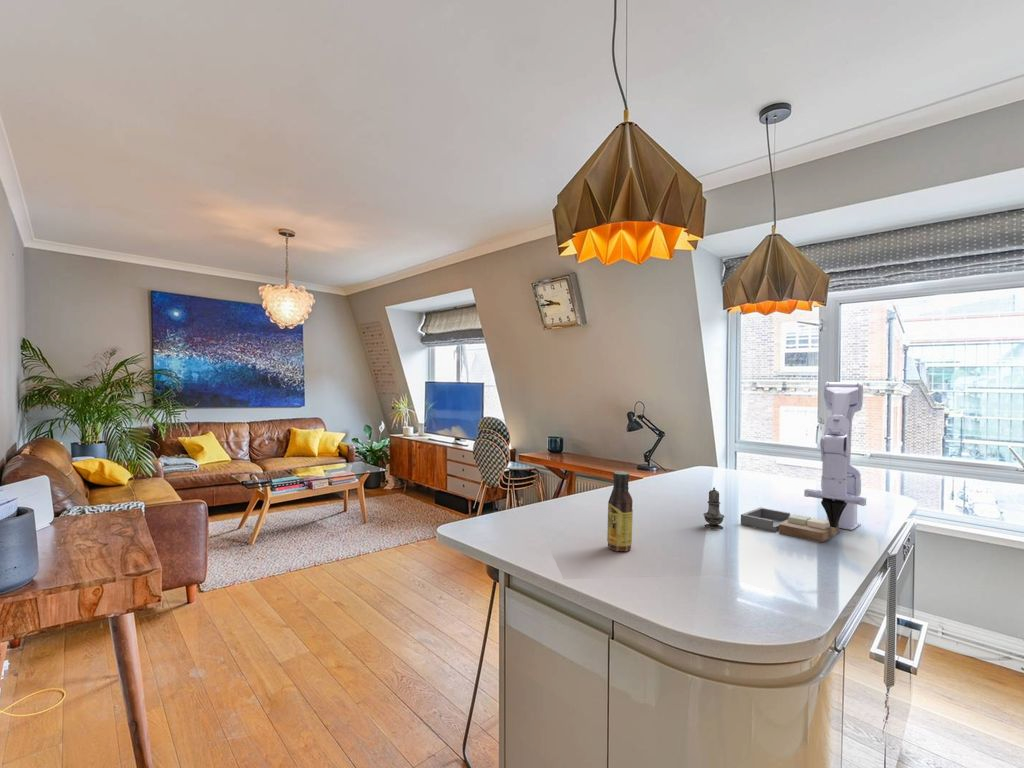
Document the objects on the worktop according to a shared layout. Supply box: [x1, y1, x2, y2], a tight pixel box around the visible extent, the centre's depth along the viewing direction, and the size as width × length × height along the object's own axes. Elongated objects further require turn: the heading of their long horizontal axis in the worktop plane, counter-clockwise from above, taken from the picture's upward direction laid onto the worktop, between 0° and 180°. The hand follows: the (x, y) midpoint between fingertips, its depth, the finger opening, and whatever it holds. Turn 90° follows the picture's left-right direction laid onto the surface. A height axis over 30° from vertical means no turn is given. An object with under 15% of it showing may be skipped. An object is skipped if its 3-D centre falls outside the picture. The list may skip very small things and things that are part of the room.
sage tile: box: [788, 513, 812, 525], centre depth 144 cm, size 4×4×2 cm
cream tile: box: [807, 517, 830, 529], centre depth 140 cm, size 4×4×2 cm
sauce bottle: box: [606, 470, 634, 553], centre depth 127 cm, size 6×6×20 cm
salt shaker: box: [702, 487, 725, 530], centre depth 147 cm, size 6×6×12 cm
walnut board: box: [778, 521, 840, 543], centre depth 142 cm, size 14×11×2 cm
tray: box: [740, 507, 791, 533], centre depth 151 cm, size 14×10×3 cm
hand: (833, 526), depth 138 cm, fingers closed
